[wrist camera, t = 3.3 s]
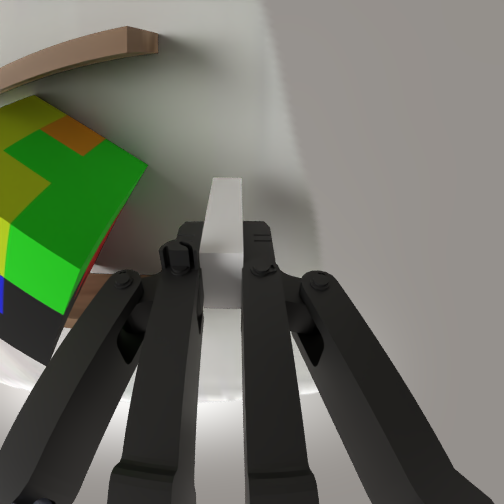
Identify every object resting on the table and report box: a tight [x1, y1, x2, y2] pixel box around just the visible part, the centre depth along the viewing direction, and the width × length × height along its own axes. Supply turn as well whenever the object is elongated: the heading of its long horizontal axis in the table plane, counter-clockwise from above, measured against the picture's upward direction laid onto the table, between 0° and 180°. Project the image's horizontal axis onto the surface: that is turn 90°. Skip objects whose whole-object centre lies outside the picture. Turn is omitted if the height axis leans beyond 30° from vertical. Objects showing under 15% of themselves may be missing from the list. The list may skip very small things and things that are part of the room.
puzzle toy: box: [0, 95, 148, 366], centre depth 13 cm, size 10×10×10 cm
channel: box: [0, 26, 158, 328], centre depth 15 cm, size 18×15×5 cm
